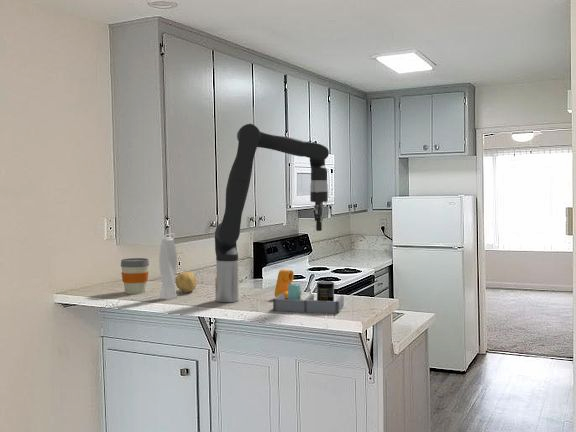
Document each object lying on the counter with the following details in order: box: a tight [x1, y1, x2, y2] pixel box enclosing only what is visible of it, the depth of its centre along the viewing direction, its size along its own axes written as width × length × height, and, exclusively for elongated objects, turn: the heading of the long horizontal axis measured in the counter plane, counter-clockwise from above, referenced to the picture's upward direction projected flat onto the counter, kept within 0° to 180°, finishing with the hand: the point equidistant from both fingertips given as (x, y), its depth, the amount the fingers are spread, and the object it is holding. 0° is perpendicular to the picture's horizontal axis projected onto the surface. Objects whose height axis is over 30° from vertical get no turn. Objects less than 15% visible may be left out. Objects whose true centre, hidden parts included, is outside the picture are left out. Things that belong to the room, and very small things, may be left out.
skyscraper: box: [158, 232, 178, 301], centre depth 268 cm, size 8×8×28 cm
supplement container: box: [316, 280, 335, 301], centre depth 245 cm, size 7×7×10 cm
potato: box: [175, 270, 198, 293], centre depth 285 cm, size 10×14×10 cm
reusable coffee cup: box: [120, 257, 150, 295], centre depth 284 cm, size 13×13×15 cm
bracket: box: [274, 269, 295, 299], centre depth 270 cm, size 11×7×12 cm, turn 147°
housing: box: [272, 283, 345, 314], centre depth 245 cm, size 14×26×9 cm, turn 77°
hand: (318, 230), depth 270 cm, fingers closed
